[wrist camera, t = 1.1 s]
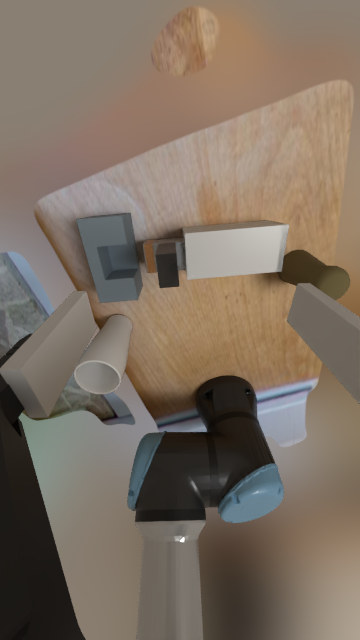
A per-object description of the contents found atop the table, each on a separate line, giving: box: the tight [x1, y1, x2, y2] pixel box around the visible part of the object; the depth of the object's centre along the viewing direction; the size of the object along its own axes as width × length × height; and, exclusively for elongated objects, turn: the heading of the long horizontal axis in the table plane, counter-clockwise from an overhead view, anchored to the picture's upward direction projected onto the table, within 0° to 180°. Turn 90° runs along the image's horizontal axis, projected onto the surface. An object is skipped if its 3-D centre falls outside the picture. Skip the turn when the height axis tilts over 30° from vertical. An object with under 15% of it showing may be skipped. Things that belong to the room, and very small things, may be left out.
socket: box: [76, 213, 143, 303], centre depth 33 cm, size 12×6×7 cm, turn 4°
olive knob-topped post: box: [278, 250, 350, 300], centre depth 34 cm, size 6×6×11 cm
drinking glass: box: [74, 315, 133, 394], centre depth 37 cm, size 7×7×15 cm
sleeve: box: [182, 220, 289, 280], centre depth 33 cm, size 6×14×7 cm, turn 94°
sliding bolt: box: [143, 237, 186, 288], centre depth 30 cm, size 4×18×11 cm, turn 94°
